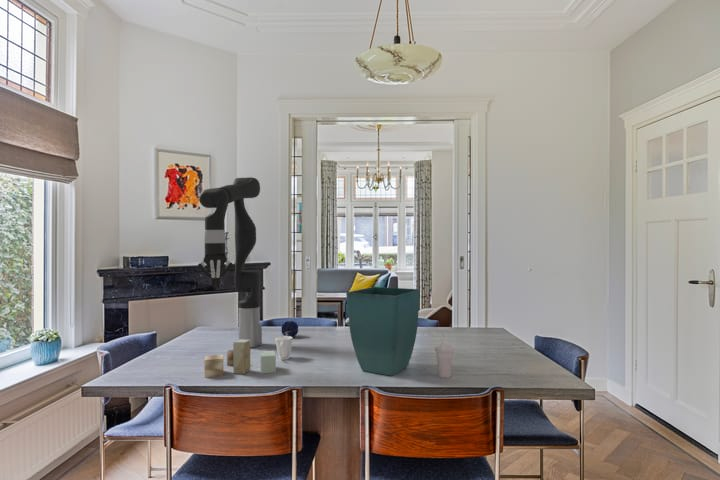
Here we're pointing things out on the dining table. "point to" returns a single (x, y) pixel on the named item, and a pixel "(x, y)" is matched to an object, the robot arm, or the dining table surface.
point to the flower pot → (383, 327)
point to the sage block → (267, 362)
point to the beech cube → (213, 365)
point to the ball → (290, 329)
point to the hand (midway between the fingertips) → (215, 287)
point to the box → (241, 356)
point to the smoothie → (444, 359)
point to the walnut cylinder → (230, 358)
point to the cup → (284, 346)
